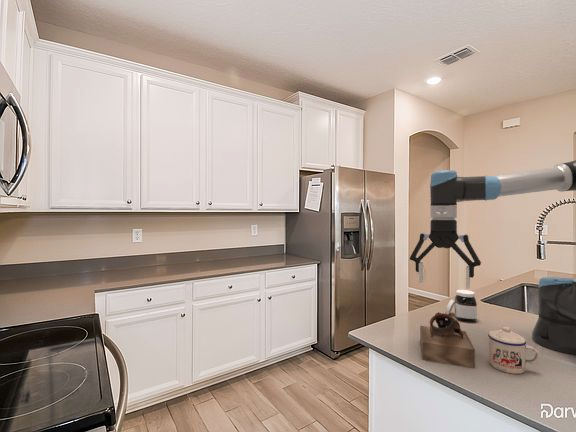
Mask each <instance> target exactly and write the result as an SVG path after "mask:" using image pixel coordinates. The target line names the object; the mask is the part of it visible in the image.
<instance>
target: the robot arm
mask: <svg viewBox="0 0 576 432" xmlns="http://www.w3.org/2000/svg"><path fill="white" fill-rule="evenodd" d="M429 188H430V192H429V193H430V194H429V195H430V217H429V218H431V220H430V233H429V234H427V233H424V232H422V233H420V234H419V238H418V239H419V240H418V242H417V244H416V245H415V247H414V249H413V251H412V253H411V255H409V260H410V261H413V262H414V263H415V272H416V273H417V272H418V283H421V284H422V283H423V282H424V262H423V261H422V260H423V259H424V258H425V257H426V256H427V255H428V254H429V253H430V252H431V251H432V249H434V248H435V247H436V248H438V249H442V248H443V249H452V250H453V251H455V252H456V254H458V256H459V257H460V258H461V259H462V260H463V262H465V263H466V265H467V266H465V268H466V269H465V273H466V274H465V277H466V278H465V283H466V284H465V287H466V290H467V289H468V290H469V289H470V288H471V287H470V286H471V278H472V279H473V278H474V276H475V267H478V266H479V267H480V266H481V265H482V262H481V260H480V258H479V255H478V254H477V253H476V251H475V249H474V247H473V246H472V244H471V242H470V237H469V235H468V234H464V235H463V234H462V235H459V234H458V230H457V228H458V221H457V216H458V215H457V214H458V211H457V210H458V209H457V208H458V206H457V205H458V204H457V203H461V202H473V201H491V200H492V201H494V200H496V199H498V198H499V197H506V196H515V195H523V194H530V193H539V192H546V191H555V190H556V191H558V192H568V191H569V192H570V191H574V192H575V191H576V160H572V161H568V162H563V163H556V164H555V165H554V166H553V167H549V168H541V169H533V170H527V171H526V170H525V171H520V172H511V173H505V174H497V175H484V176H482V175H481V176H478V175H477V176H458V173H457V171H456V170H451V169H450V170H448V169H446V170H438V171H437V170H436V171H434V172H432V173H431V175H430V184H429ZM428 238H429V240H430V241H431V243H430V244H429V245H428V246H427V247H426V248H425V249H424V250H423V251H422V252H421V253H420V254H419V251H420V250H421V248H422V246H423V244H424V242H425V241H427V240H428ZM458 240H460V241H461V243H464V246H465V247H466V249H467V251H468V253H469V255H470V256H471V258H470V257H468V255H467V254H466V253H465V252H464V251H463V250H462V249H461V248H460V247H459V246H458V244H457V243H456V242H457V241H458ZM418 254H419V256H418V257H417V255H418ZM471 259H472V260H473V261H472V260H471ZM537 289H538V318H537V321H536V323H535V325H534V327H533V330H532V331H531V339H532V341H534V343H536V344H537V345H540V346H542V347H544V348H547V349H549V350H553V351H557V352H559V353H560V352H561V353H565V354H571V355H576V278H573V277H571V278H570V277H559V276H558V277H557V276H555V277H553V276H552V277H551V276H550V277H549V276H544V277H541V278H540V279H539V280H538V287H537Z"/></svg>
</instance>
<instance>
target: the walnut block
mask: <svg viewBox="0 0 576 432" xmlns="http://www.w3.org/2000/svg"><path fill="white" fill-rule="evenodd" d="M419 330H420V331H419V335H420V336H419V337H420V338H419V342H420V349H421V350H420V351H421V357H422V358H421V359H422V360H423V361H427V362H433V363H438V364H439V363H440V364H446V365H451V366H452V365H453V366H459V367H464V368H472V369H476V366H475V365H476V360H475V359H476V358H475V357H476V350H475V347H474V345H473V344H472V341H471V340H470V337H469V335H468V333H467V332H466V330H462V332H463V338H462V337H461V336H460V334H458V333H455V335H453V334H450V335H448V336H445V335H444V336H435V335H433V337H432V336H431V334H430V326H426V325H420V327H419Z"/></svg>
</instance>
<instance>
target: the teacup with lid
mask: <svg viewBox="0 0 576 432" xmlns="http://www.w3.org/2000/svg"><path fill="white" fill-rule="evenodd" d="M487 336H488V362H489V365H490V366H492V368H494V369H497V370H498V371H500V372H505V373H508V374H513V375H518V374H523V373H525V372H526V364H535V363H537V361H538V360H539V359H540V353H539V351H538V350H537V349H536V348H535V347H533V346H531V345H526V344H527V340H526V339H525V337H523V336H522V335H521V334H518V333H516V332H514V331H512V329H511V327H509V326H503V327H502V328H501V329H491V330H490V331H489V332H488V333H487ZM526 349H527V350H531V351H533V352H535V355H534V357H533V358H532V359H526Z"/></svg>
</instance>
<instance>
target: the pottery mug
mask: <svg viewBox="0 0 576 432" xmlns="http://www.w3.org/2000/svg"><path fill="white" fill-rule="evenodd" d="M434 322H436V324H437V326H435V325H434V324H433V323H434ZM429 324H430V325H429V327H430V334H431V336H432V337H433V335H435V336H444V335H445V336H448V335H450V334H453V335H455V333H458V334H460V336H461V337H462V338H463V332H462V331H463V330H462V329H461V325H460V322H459V320H458V319H455V318H454V317H453V316H452V315H450V314H449V315H448V314H446V313H445V312H443V313H442V312H439V311H438V312H437V313H435V314H434V315H433V316H432V317H431V318H430V320H429Z"/></svg>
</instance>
